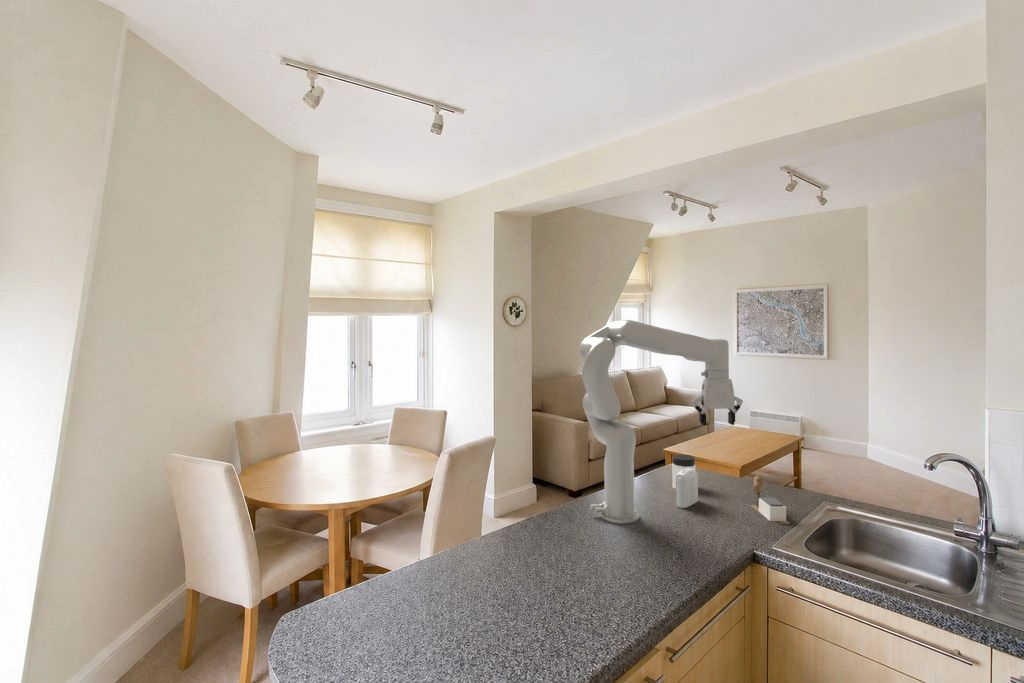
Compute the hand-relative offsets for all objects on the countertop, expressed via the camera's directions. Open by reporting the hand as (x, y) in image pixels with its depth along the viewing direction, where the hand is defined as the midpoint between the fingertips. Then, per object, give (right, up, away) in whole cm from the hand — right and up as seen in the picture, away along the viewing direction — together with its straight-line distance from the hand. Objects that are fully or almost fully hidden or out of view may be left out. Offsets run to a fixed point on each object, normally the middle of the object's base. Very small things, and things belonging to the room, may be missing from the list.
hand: (717, 424), depth 167 cm
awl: (+14, -28, -1) cm, 31 cm away
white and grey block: (+13, -28, -10) cm, 33 cm away
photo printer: (-9, -29, +3) cm, 30 cm away
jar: (-4, -28, +20) cm, 35 cm away
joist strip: (+14, -28, -8) cm, 32 cm away
